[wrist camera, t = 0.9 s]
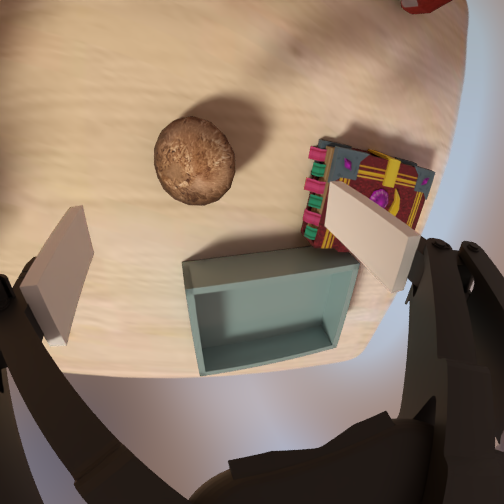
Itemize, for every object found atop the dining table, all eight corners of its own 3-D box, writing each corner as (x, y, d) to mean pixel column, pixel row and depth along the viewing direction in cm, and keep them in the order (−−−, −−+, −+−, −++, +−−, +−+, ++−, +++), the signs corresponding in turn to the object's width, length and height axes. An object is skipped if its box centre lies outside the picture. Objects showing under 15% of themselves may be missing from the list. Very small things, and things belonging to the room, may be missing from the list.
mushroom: (266, 136, 25) (236, 160, 20) (232, 199, 30) (202, 233, 26) (193, 96, 24) (150, 111, 20) (170, 161, 30) (132, 186, 25)
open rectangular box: (195, 348, 40) (200, 376, 36) (181, 262, 32) (185, 289, 28) (322, 324, 44) (336, 347, 40) (339, 242, 37) (360, 263, 33)
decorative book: (389, 236, 39) (410, 253, 35) (288, 232, 34) (305, 254, 30) (412, 160, 34) (438, 172, 30) (308, 135, 29) (331, 145, 25)
